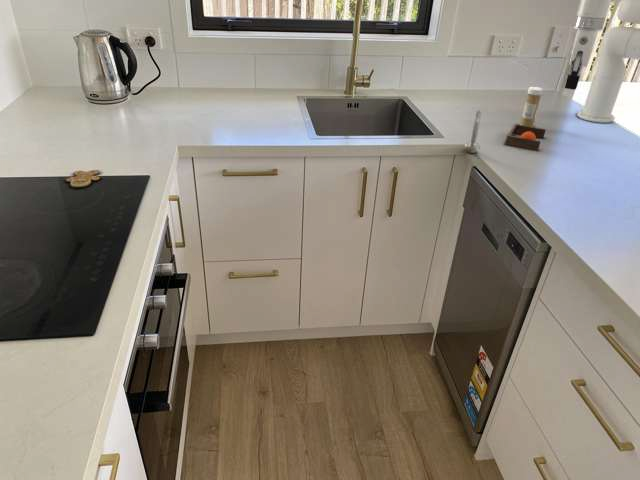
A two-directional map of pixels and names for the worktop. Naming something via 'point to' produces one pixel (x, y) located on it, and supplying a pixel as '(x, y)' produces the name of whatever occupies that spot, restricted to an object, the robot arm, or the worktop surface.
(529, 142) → the brown u-shaped piece
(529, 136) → the ball
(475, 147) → the screw
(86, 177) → the cookie
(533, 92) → the sprinkles bottle
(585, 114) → the robot arm
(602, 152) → the worktop surface
